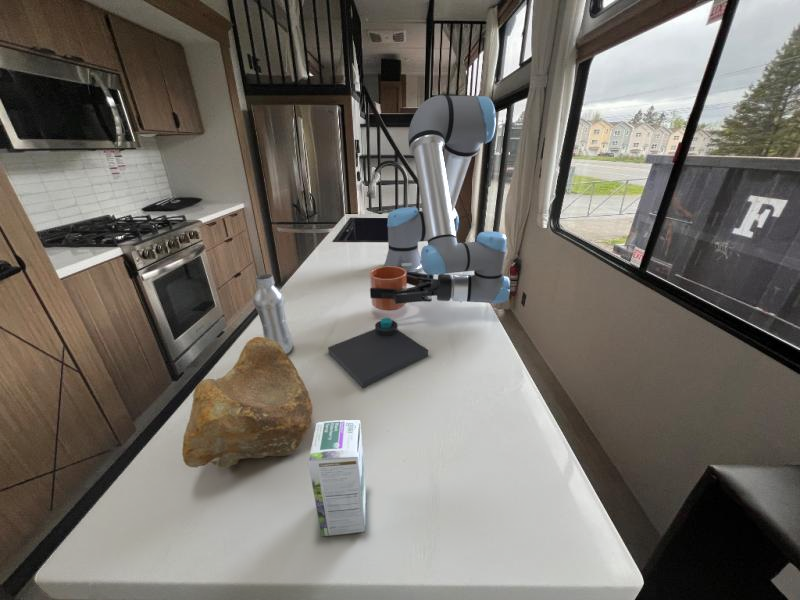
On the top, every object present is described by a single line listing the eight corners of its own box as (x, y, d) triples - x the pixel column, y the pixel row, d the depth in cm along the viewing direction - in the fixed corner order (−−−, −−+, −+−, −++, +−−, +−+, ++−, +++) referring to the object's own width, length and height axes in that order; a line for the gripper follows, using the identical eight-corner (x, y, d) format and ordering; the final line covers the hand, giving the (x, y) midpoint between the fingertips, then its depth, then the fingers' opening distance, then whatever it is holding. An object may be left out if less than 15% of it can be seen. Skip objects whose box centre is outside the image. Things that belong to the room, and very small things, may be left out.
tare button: (387, 322, 85) (387, 316, 85) (393, 326, 83) (393, 320, 83) (378, 325, 84) (378, 319, 83) (384, 330, 82) (384, 324, 81)
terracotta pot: (393, 293, 103) (392, 263, 98) (413, 305, 95) (413, 273, 91) (365, 302, 97) (362, 271, 93) (384, 315, 90) (383, 282, 85)
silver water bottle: (300, 347, 81) (286, 272, 73) (283, 362, 76) (265, 284, 67) (278, 342, 83) (262, 270, 75) (260, 357, 78) (241, 280, 69)
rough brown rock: (287, 510, 46) (278, 432, 40) (175, 494, 47) (149, 415, 41) (333, 398, 67) (332, 336, 61) (255, 388, 68) (247, 326, 62)
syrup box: (326, 494, 47) (313, 421, 41) (367, 490, 47) (360, 417, 41) (321, 537, 42) (304, 461, 35) (367, 533, 42) (358, 456, 36)
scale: (389, 328, 89) (388, 317, 87) (429, 356, 77) (429, 343, 75) (328, 353, 79) (326, 341, 77) (363, 388, 67) (362, 375, 65)
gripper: (451, 319, 83) (366, 315, 85) (450, 283, 103) (382, 281, 106) (452, 292, 79) (364, 289, 82) (451, 261, 100) (381, 259, 103)
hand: (374, 284), depth 94 cm, fingers closed on terracotta pot, 10 cm apart
